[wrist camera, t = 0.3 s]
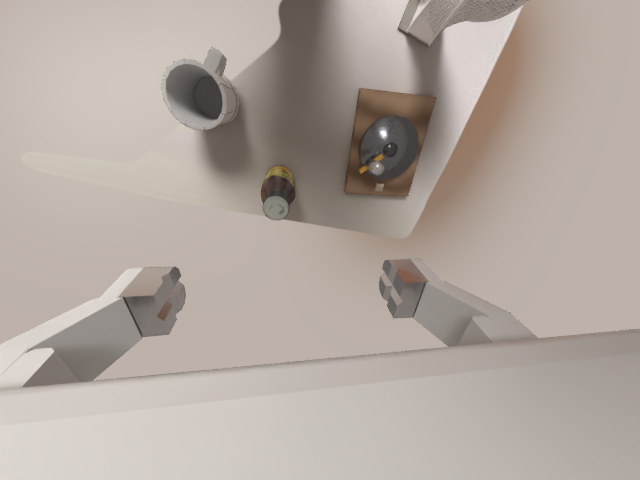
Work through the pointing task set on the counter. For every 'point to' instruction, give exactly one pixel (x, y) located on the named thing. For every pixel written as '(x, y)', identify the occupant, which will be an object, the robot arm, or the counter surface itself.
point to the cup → (200, 92)
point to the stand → (367, 112)
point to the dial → (388, 147)
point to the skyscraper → (450, 15)
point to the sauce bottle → (277, 192)
